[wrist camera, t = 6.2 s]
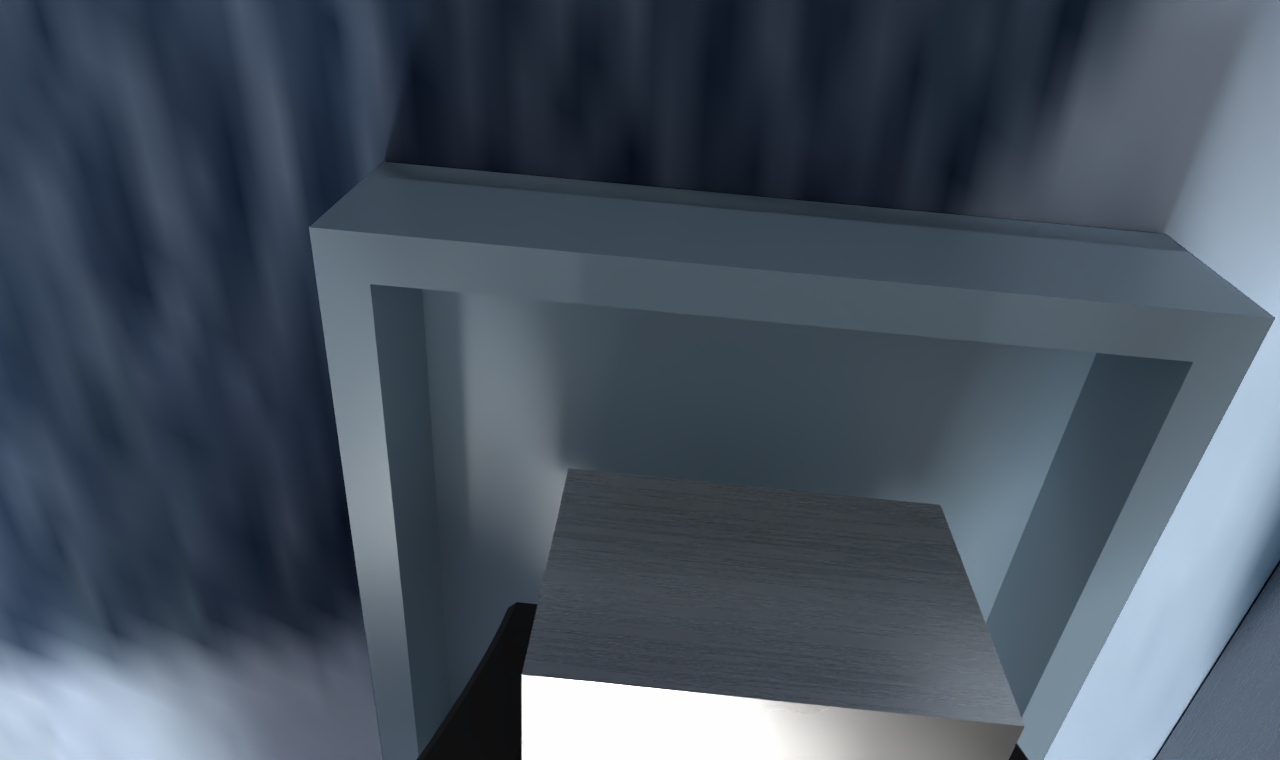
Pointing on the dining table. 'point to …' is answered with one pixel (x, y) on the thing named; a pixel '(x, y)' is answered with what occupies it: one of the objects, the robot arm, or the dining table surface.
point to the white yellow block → (757, 630)
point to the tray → (755, 395)
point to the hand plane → (1238, 694)
